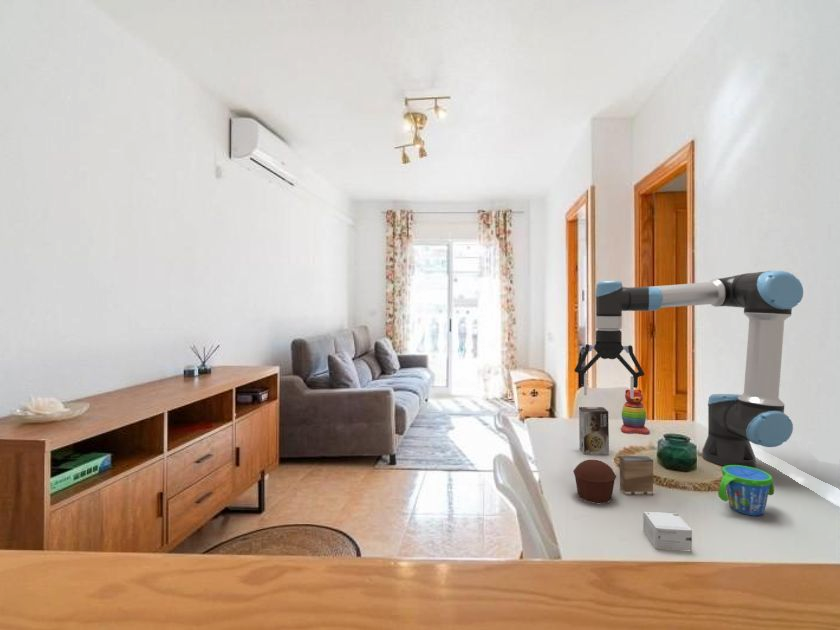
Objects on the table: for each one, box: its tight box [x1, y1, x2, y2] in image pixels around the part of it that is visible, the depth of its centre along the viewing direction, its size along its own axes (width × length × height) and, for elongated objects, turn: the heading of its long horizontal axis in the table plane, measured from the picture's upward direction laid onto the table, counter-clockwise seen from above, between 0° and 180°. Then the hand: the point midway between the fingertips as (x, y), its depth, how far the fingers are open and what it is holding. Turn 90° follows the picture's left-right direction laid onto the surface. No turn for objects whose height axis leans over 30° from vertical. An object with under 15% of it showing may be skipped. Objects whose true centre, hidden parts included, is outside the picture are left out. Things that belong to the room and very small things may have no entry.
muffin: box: [572, 459, 617, 504], centre depth 122 cm, size 12×11×10 cm
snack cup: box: [717, 465, 775, 517], centre depth 113 cm, size 16×10×10 cm
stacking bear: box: [620, 389, 651, 435], centre depth 184 cm, size 11×10×18 cm
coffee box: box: [578, 406, 610, 455], centre depth 159 cm, size 9×6×16 cm
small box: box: [642, 511, 693, 552], centre depth 99 cm, size 8×8×5 cm
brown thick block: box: [619, 455, 654, 496], centre depth 125 cm, size 4×8×10 cm, turn 90°
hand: (608, 396), depth 136 cm, fingers open, 13 cm apart
